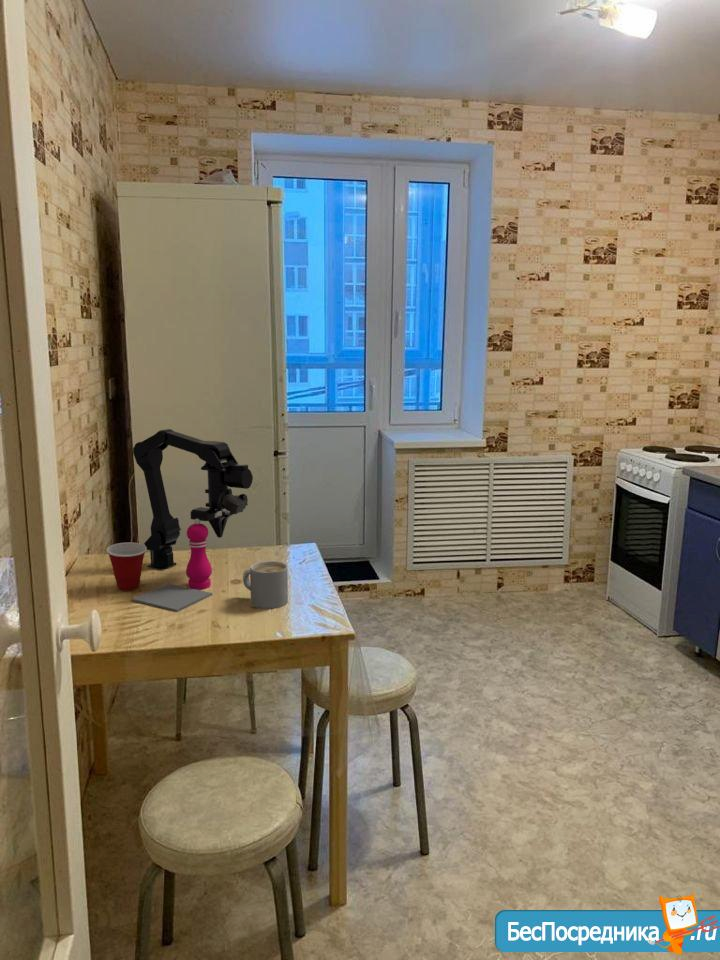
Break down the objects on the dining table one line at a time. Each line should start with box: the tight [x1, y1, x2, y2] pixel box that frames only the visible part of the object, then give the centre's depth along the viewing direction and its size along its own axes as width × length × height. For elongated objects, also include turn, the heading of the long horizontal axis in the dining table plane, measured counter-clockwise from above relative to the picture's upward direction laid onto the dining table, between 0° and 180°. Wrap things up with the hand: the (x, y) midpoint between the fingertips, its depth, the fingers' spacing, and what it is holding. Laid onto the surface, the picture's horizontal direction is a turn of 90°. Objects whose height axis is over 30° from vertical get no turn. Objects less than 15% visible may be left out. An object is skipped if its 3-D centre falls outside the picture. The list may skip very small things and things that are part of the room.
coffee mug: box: [242, 560, 289, 610], centre depth 189 cm, size 13×10×10 cm
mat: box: [131, 583, 213, 613], centre depth 191 cm, size 16×14×1 cm
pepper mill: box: [185, 518, 213, 590], centre depth 199 cm, size 7×7×20 cm
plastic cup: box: [106, 541, 148, 592], centre depth 197 cm, size 11×11×12 cm
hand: (219, 537), depth 207 cm, fingers closed
